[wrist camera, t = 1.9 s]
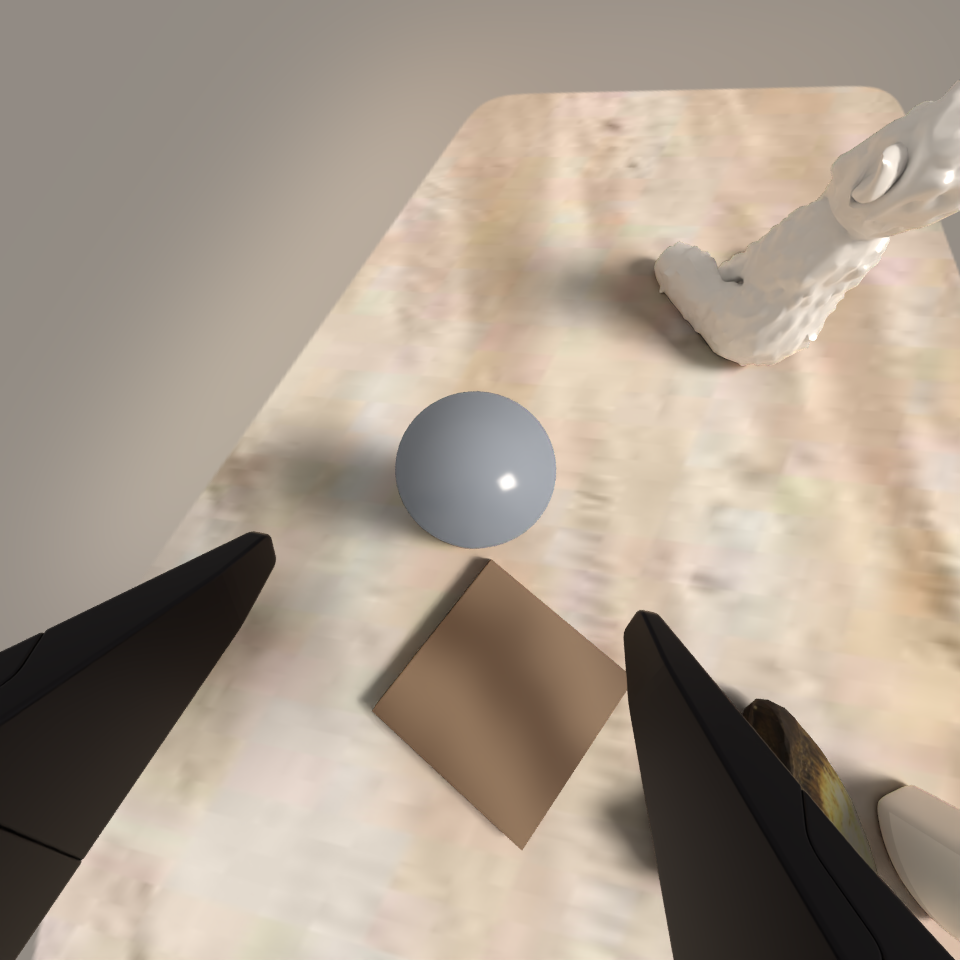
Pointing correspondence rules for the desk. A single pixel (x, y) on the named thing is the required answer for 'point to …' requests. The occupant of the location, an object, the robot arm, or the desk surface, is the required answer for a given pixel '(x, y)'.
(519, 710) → the coaster
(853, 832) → the claw
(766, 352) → the white creature statuette
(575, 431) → the desk surface
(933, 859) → the eye dropper bottle
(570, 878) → the desk surface
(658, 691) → the robot arm
